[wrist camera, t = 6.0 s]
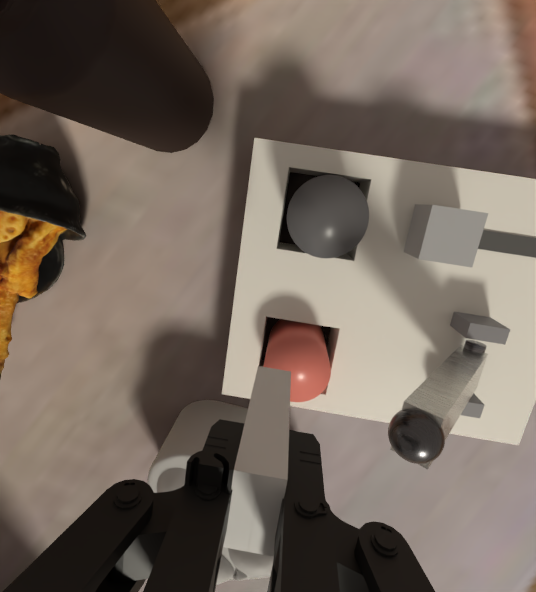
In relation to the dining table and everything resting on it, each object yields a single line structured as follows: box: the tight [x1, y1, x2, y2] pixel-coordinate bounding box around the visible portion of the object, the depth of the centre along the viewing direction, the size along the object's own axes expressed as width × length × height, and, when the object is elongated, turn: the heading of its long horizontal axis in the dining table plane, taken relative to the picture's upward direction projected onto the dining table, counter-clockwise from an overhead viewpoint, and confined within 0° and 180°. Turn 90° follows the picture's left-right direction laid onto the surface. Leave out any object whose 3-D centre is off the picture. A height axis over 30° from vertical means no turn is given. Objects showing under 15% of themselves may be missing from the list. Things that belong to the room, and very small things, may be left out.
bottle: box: [0, 0, 213, 153], centre depth 17 cm, size 7×7×20 cm
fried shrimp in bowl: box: [0, 135, 86, 378], centre depth 26 cm, size 9×11×18 cm
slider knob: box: [404, 204, 488, 267], centre depth 21 cm, size 3×3×3 cm
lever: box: [388, 340, 488, 469], centre depth 19 cm, size 2×3×13 cm
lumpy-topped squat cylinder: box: [147, 400, 274, 585], centre depth 29 cm, size 10×13×9 cm
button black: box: [287, 175, 369, 258], centre depth 22 cm, size 4×4×6 cm
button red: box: [263, 319, 331, 402], centre depth 26 cm, size 4×4×6 cm
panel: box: [222, 138, 536, 445], centre depth 25 cm, size 22×18×6 cm
